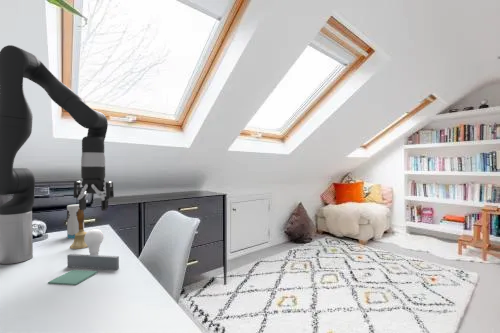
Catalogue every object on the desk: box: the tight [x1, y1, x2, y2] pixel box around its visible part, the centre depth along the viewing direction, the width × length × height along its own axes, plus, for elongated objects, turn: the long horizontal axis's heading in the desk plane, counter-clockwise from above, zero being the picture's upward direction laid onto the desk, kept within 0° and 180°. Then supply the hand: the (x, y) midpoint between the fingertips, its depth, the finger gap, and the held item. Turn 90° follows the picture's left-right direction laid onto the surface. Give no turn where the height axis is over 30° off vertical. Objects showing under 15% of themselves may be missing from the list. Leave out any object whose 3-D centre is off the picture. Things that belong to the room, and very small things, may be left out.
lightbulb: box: [84, 228, 105, 255], centre depth 97 cm, size 6×6×11 cm
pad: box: [47, 269, 99, 286], centre depth 82 cm, size 9×9×1 cm
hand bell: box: [69, 208, 88, 250], centre depth 114 cm, size 8×8×16 cm
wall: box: [66, 253, 120, 271], centre depth 90 cm, size 18×1×4 cm, turn 82°
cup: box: [66, 203, 85, 239], centre depth 129 cm, size 7×7×15 cm
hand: (93, 210), depth 97 cm, fingers open, 8 cm apart
